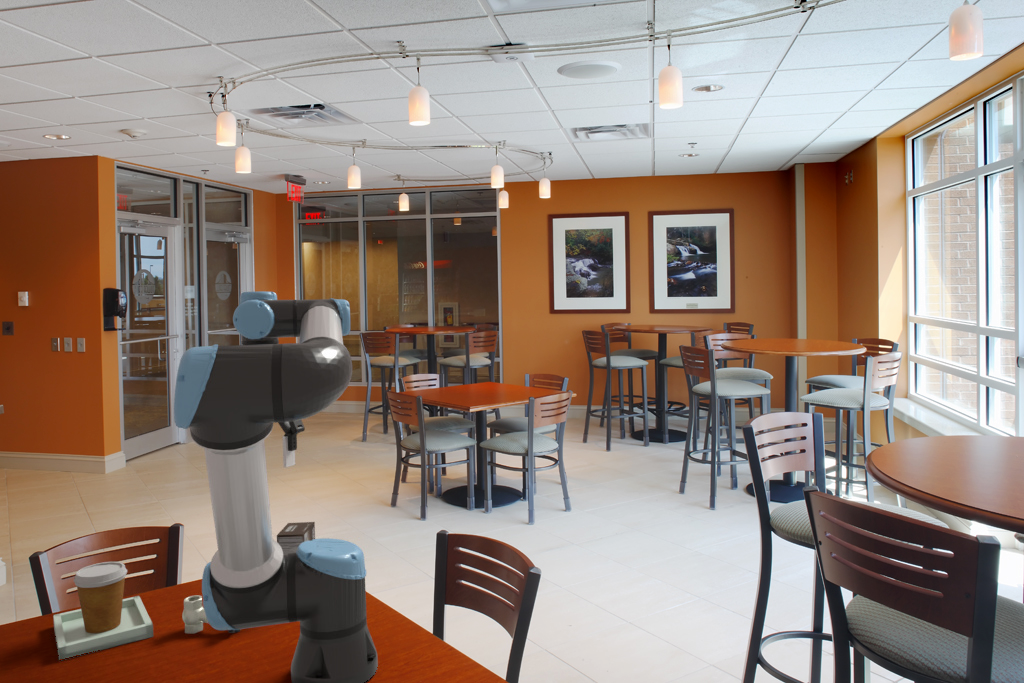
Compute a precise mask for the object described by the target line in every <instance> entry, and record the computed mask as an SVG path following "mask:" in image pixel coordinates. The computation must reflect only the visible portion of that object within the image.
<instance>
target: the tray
mask: <svg viewBox="0 0 1024 683" xmlns="http://www.w3.org/2000/svg"><path fill="white" fill-rule="evenodd" d="M52 617H53V629H54V636H56V637H55V643H56V642H57V643H56V647H57V649H58V650H57V656H58V655H59V656H58V661H59V660H60V659H65V658H69V657H73V656H76V655H80V656H82V655H81V654H84V653H88V654H90V653H89V652H92V653H95V651H96V652H99V651H98V650H100V651H102V650H107V649H110V648H114V647H118V646H121V645H126V644H131V643H133V642H139V641H141V640H145V639H149V638H153V637H154V624H153V621H152V619H151V617H150V616H149V614H148V612H147V609H146V607H145V605H144V603H143V601H142V598H141V596H140V595H135V596H132V597H127V598H123V602H122V612H121V623H120V625H119V626H118V627H116V628H114V629H112V630H109V631H106V632H101V633H88V632H86V631H85V626H84V621H83V616H82V611H81V608H79V609H75V610H70V611H65V612H61V613H57V614H53V616H52ZM93 651H94V652H93ZM84 655H85V654H84ZM73 658H74V657H73ZM69 659H70V658H69ZM65 660H66V659H65Z"/></svg>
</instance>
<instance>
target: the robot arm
mask: <svg viewBox="0 0 1024 683" xmlns="http://www.w3.org/2000/svg"><path fill="white" fill-rule="evenodd" d="M350 307H351V306H350V302H349V301H348V300H346V299H340V298H339V299H337V298H333V297H332V298H322V299H278V295H277V293H276V292H274V291H263V290H262V291H257V290H256V291H242V293H241V294H240V296H239V305H238V306H237V307H236V308H235V310H234V312H233V316H232V322H233V327H234V329H235V330H236V331H237V333H238V334H240V336H241V344H238V345H237V344H236V345H219V344H217V343H215V344H213V345H208V346H205V345H204V346H193V347H190V348H188V349H186V350H185V352H183V353H182V356H181V358H180V360H179V363H178V367H177V368H178V369H177V374H176V380H175V388H174V398H173V421H174V424H175V427H177V428H179V429H180V428H181V429H183V430H186V429H187V430H188V429H190V437H191V440H192V442H193V443H194V444H196V446H198V447H200V448H201V449H203V450H204V457H205V458H204V459H205V463H206V464H205V465H206V472H207V479H208V486H209V488H208V489H209V493H210V501H211V509H212V516H213V522H214V524H213V525H214V529H215V530H214V532H215V538H216V544H217V550H216V552H215V553H214V554H213V556H212V557H211V561H209V562H207V563H206V564H205V567H204V568H203V572H202V578H201V593H202V594H201V596H202V606H203V608H204V610H205V614H206V617H207V620H208V622H209V623H208V624H209V625H210V626H211V628H213V629H214V630H217V631H228V630H240V631H241V630H243V629H250V628H252V629H253V628H260V627H267V626H274V625H281V624H282V625H283V624H289V623H296V622H299V637H298V641H297V645H296V647H295V651H294V653H293V658H292V660H291V665H290V678H291V683H364V682H365V683H367V682H368V681H369V680H371V679H372V678H373V677H374V676H375V674H376V673H377V671H378V668H377V667H379V666H378V665H379V661H378V660H379V659H378V657H379V656H378V652H377V648H376V646H375V642H374V641H373V638H372V636H371V633H370V630H369V627H368V622H367V599H366V598H367V597H366V596H367V595H366V592H367V591H366V577H367V569H366V563H365V555H364V551H363V550H362V549H361V548H360V546H359V545H357V544H355V543H354V542H351V541H349V540H345V539H340V538H339V539H338V538H329V537H328V538H324V537H323V538H315V539H313V540H311V541H305V542H303V543H301V544H300V545H299V546H298V549H297V550H296V552H297V553H287V554H283V551H282V548H281V546H280V545H279V544H278V543H277V540H275V539H273V527H272V517H271V506H270V505H271V504H270V503H271V502H270V492H269V484H268V483H269V482H268V480H269V479H268V471H267V469H268V468H267V457H266V449H265V448H266V447H265V446H266V444H265V440H266V439H267V438H268V437H269V436H270V434H271V433H272V431H273V429H274V424H275V423H278V425H279V426H280V428H281V429H282V431H283V432H284V435H282V459H283V460H282V463H283V468H289V467H293V466H295V465H296V450H297V449H298V443H297V442H298V440H297V439H298V438H297V435H298V434H299V433H302V432H305V429H306V427H305V425H304V423H303V420H305V419H308V418H311V417H313V416H316V415H317V414H319V413H320V412H321V413H322V412H323V411H325V410H326V409H328V407H330V406H331V405H333V404H334V403H335V402H336V401H337V400H338V399H339V398H340V397H342V395H343V394H344V393H345V391H346V389H347V388H348V387H349V385H350V382H351V380H352V375H353V363H352V362H353V361H352V356H351V353H350V352H349V350H348V348H347V347H346V346H345V345H344V340H343V336H344V337H345V336H348V335H349V334H350V333H351V308H350ZM280 338H299V341H298V343H297V342H295V343H293V342H292V343H291V342H290V343H288V342H287V343H280V340H279V339H280ZM376 670H377V671H376ZM375 672H376V673H375ZM373 675H374V676H373ZM372 676H373V677H372ZM371 677H372V678H371ZM370 678H371V679H370ZM367 680H368V681H367ZM366 681H367V682H366Z"/></svg>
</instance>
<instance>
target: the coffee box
mask: <svg viewBox="0 0 1024 683" xmlns="http://www.w3.org/2000/svg"><path fill="white" fill-rule="evenodd" d="M315 524H316V523H315V521H305V522H302V521H301V522H287V524H286V525H285V526H284V527H283V528H282V529H281V530H280V531H279V532H278V533H277V535H276V542H277V543H278V544H279V545H280V546H281V548H282V551H283V554H287V553H297V552H296V550H297V549H298V546H299V545H300V544H301V543H303V542H305V541H311V540H313V539H316V531H315V530H316V527H315V526H316V525H315Z"/></svg>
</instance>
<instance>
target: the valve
mask: <svg viewBox="0 0 1024 683" xmlns="http://www.w3.org/2000/svg"><path fill="white" fill-rule="evenodd" d="M181 616H182V621H183V623H184V633H185V634H196V633H199V632H201V631H203V630H204V624H205V623H206V624H209V622H208V620H207V617H206V614H205V610H204V606H203V595H200V594H199V595H197V594H196V595H189V596H188V597H185V598H184V600H183V611H182V615H181ZM240 631H241V629H240V630H227V632H228V633H230V634H235V633H239V632H240Z"/></svg>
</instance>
